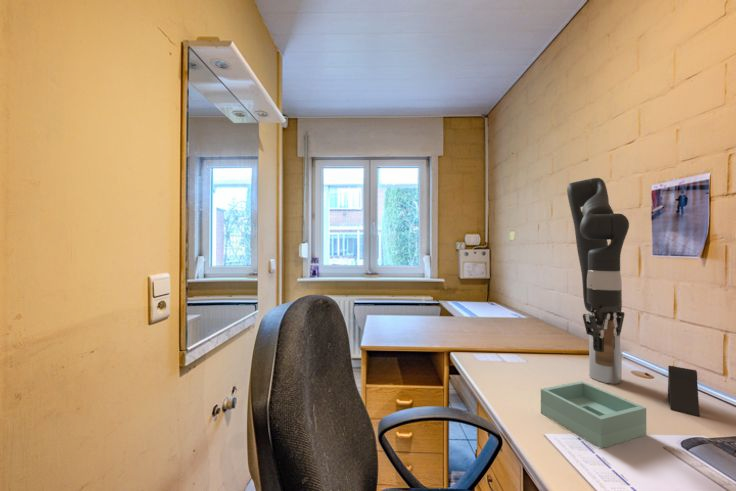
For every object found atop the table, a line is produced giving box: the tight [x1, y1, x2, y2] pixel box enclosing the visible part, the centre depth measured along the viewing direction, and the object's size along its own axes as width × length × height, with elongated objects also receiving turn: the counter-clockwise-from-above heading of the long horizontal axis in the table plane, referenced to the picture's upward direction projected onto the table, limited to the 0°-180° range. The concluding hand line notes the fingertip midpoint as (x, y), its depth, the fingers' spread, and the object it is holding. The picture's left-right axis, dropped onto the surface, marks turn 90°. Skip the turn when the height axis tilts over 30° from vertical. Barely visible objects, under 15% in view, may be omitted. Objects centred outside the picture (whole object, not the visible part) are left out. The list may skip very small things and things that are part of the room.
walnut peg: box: [595, 320, 614, 367], centre depth 83 cm, size 4×4×12 cm
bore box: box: [540, 380, 647, 449], centre depth 85 cm, size 17×17×7 cm
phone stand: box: [667, 365, 700, 417], centre depth 94 cm, size 9×6×12 cm, turn 139°
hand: (604, 349), depth 83 cm, fingers closed on walnut peg, 4 cm apart
